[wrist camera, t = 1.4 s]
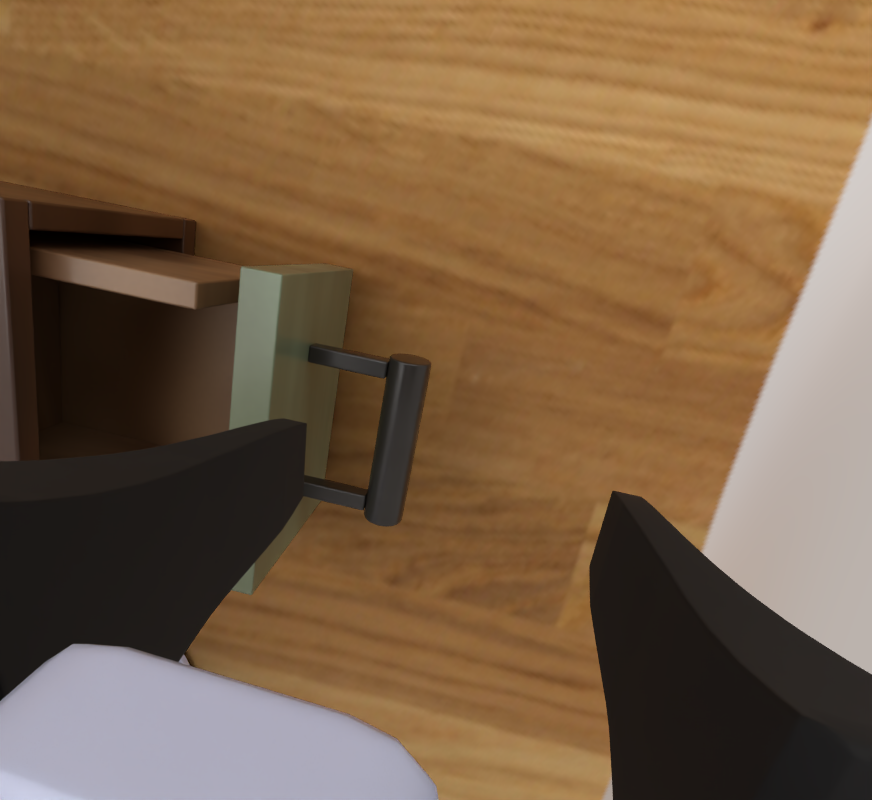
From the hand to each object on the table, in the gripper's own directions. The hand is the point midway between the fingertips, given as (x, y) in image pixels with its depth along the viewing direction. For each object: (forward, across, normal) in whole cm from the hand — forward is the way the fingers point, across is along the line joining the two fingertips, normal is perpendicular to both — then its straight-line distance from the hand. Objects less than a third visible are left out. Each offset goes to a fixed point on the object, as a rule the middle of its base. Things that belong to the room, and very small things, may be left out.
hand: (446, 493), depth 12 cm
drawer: (+9, +10, +2) cm, 14 cm away
